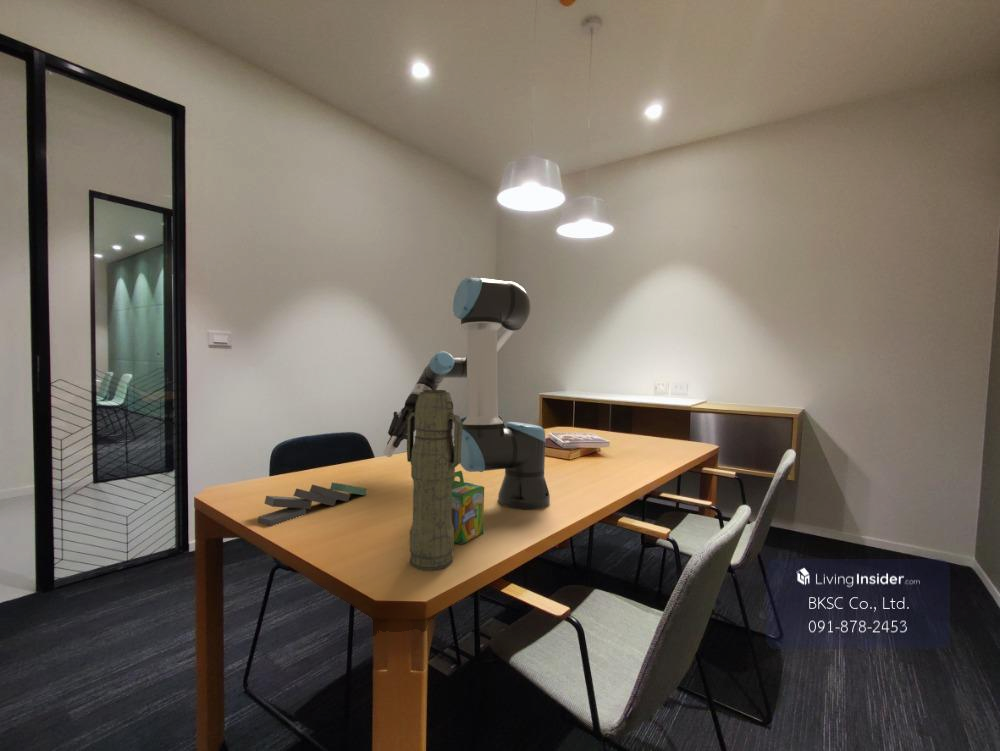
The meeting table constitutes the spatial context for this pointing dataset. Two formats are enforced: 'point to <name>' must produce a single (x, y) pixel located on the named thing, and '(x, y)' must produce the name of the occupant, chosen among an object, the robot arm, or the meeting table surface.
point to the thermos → (433, 478)
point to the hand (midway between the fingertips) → (386, 454)
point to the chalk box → (467, 509)
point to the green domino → (348, 488)
